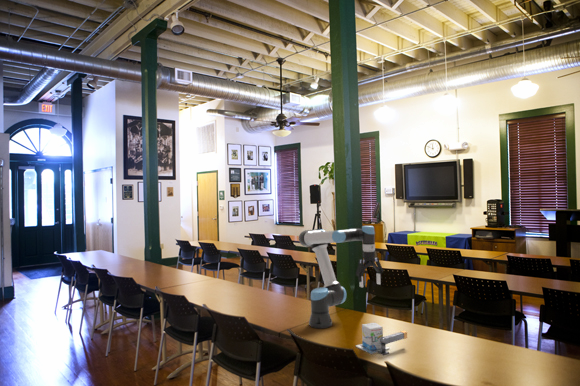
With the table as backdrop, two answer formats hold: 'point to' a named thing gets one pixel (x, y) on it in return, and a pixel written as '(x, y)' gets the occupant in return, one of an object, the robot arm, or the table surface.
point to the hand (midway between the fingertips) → (370, 285)
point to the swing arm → (393, 337)
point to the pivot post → (383, 350)
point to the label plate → (368, 349)
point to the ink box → (372, 335)
